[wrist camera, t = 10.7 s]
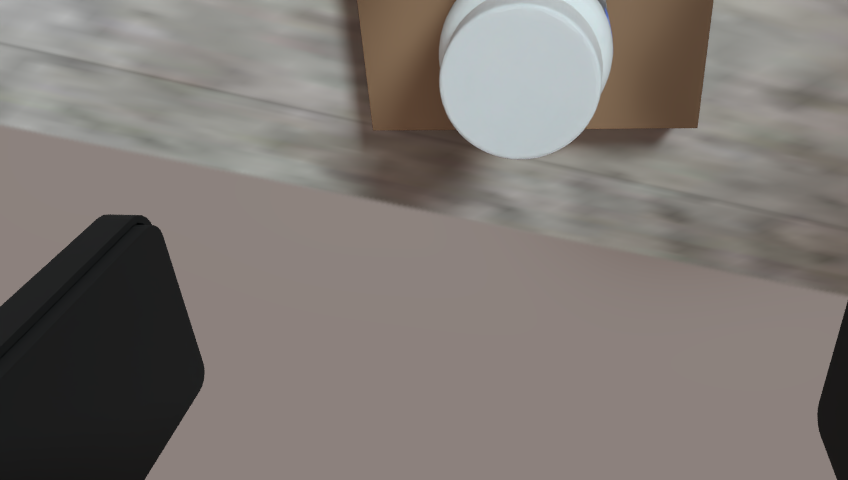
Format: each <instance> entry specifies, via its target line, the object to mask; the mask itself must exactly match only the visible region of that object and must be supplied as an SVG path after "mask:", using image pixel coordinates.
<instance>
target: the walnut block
mask: <svg viewBox="0 0 848 480" xmlns="http://www.w3.org/2000/svg"><path fill="white" fill-rule="evenodd" d="M455 1H456V0H357V4H358V12H359V20H360V28H361V37H362V45H363V53H364V61H365V69H366V77H367V85H368V93H369V101H370V109H371V117H372V125H373V130H456V128H455V127H454V126H453V124H452V123H451V121H450V120H449V118H448V116H447V114H446V112H445V109H444V106H443V104H442V100H441V95H440V88H439V73H440V64H439V44H440V36H441V32H442V28H443V25H444V22H445V19H446V17H447V15H448V13H449V11H450V9H451V7H452V5H453V4H454V2H455ZM606 4H607V10H608V15H609V20H610V25H611V32H612V40H613V58H612V65H611V70H610V73H609V77H608V80H607V82H606V84H605V87H604V89H603V91H602V93H601V95H600V100H599V103H598V106H597V109H596V111H595V113H594V115H593V117H592V118H591V120H590V122H589V124H588V125H587V126H586V128H585V129H636V128H697V127H698V119H699V111H700V103H701V95H702V87H703V79H704V71H705V63H706V55H707V47H708V39H709V31H710V23H711V16H712V8H713V0H606Z"/></svg>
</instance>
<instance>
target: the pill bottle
mask: <svg viewBox="0 0 848 480" xmlns="http://www.w3.org/2000/svg"><path fill="white" fill-rule="evenodd" d="M612 58H613V40H612V32H611V25H610V20H609V15H608V10H607V4H606V0H456V1H455V2H454V4H453V5H452V7H451V9H450V11H449V13H448V15H447V17H446V19H445V22H444V25H443V28H442V32H441V36H440V44H439V64H440V73H439V88H440V95H441V100H442V104H443V106H444V109H445V112H446V114H447V116H448V118H449V120H450V121H451V123H452V124H453V126H454V127H455V128H456V130H457V131H458V132H459V133H460V134H461V136H462V137H463V138H465V139H466V140H467V141H468V142H470V143H471V144H472V145H474V146H475V147H477V148H479V149H480V150H482V151H484V152H486V153H489V154H491V155H494V156H498V157H502V158H507V159H517V160H519V159H532V158H538V157H542V156H545V155H548V154H551V153H554V152H556V151H558V150H560V149H562V148H563V147H565V146H567V145H568V144H569V143H571V142H572V141H573V140H574V139H576V138H577V137H578V136H579V135H580V134H581V132H582V131H583V130H584V129H585V128H586V126H587V125H588V124H589V122H590V120H591V118H592V117H593V115H594V113H595V111H596V109H597V106H598V103H599V100H600V95H601V93H602V91H603V89H604V87H605V84H606V82H607V80H608V77H609V73H610V70H611V65H612Z"/></svg>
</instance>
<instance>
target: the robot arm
mask: <svg viewBox="0 0 848 480" xmlns="http://www.w3.org/2000/svg"><path fill="white" fill-rule="evenodd" d="M203 381H204V364H203V361H202V358H201V354H200V351H199V348H198V345H197V342H196V339H195V335H194V333H193V329H192V326H191V323H190V320H189V317H188V313H187V310H186V307H185V304H184V301H183V298H182V295H181V291H180V288H179V285H178V282H177V279H176V276H175V272H174V269H173V266H172V263H171V260H170V256H169V253H168V250H167V247H166V244H165V241H164V237H163V235H162V233H161V230H160V229H159V228H158V227H156V226H154V225H152V224H151V222H150V221H149V220H148V219H147V218H146V217H144V216H142V215H103V216H101V217H99V218H98V219H96V220H95V221H94V222H93V223H92V224H91V225H90V226H89V227H88V228H87V229H85V230H84V231H83V232H82V233H81V234H80V235H79V236H78V237H77V238H75V239H74V240H73V241H72V242H71V243H70V244H69V245H68V246H67V247H66V248H65V249H63V250H62V251H61V252H60V253H59V254H58V255H57V256H56V257H55V258H53V259H52V260H51V261H50V262H49V263H48V264H47V265H46V266H45V267H44V268H42V269H41V270H40V271H39V272H38V273H37V274H36V275H35V276H34V277H32V278H31V279H30V280H29V281H28V282H27V283H26V284H25V285H24V286H23V287H22V288H20V289H19V290H18V291H17V292H16V293H15V294H14V295H13V296H12V297H10V298H9V299H8V300H7V301H6V302H5V303H4V304H3V305H2V306H0V480H145V478H146V476H147V474H148V473H149V471H150V470H151V468H152V467H153V465H154V464H155V462H156V460H157V459H158V457H159V455H160V454H161V452H162V450H163V449H164V447H165V446H166V444H167V442H168V441H169V439H170V438H171V436H172V435H173V433H174V431H175V430H176V428H177V426H178V425H179V423H180V422H181V420H182V418H183V417H184V415H185V414H186V412H187V410H188V409H189V407H190V406H191V404H192V402H193V401H194V399H195V398H196V396H197V394H198V393H199V391H200V389H201V387H202V384H203ZM818 427H819V432H820V435H821V438H822V440H823V443H824V446H825V448H826V451H827V454H828V456H829V459H830V462H831V465H832V467H833V470H834V473H835V475H836V478H837V480H848V302H847V306H846V309H845V313H844V316H843V320H842V324H841V327H840V331H839V334H838V338H837V341H836V345H835V348H834V352H833V356H832V359H831V362H830V366H829V369H828V373H827V377H826V380H825V384H824V387H823V391H822V394H821V398H820V401H819V406H818Z"/></svg>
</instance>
